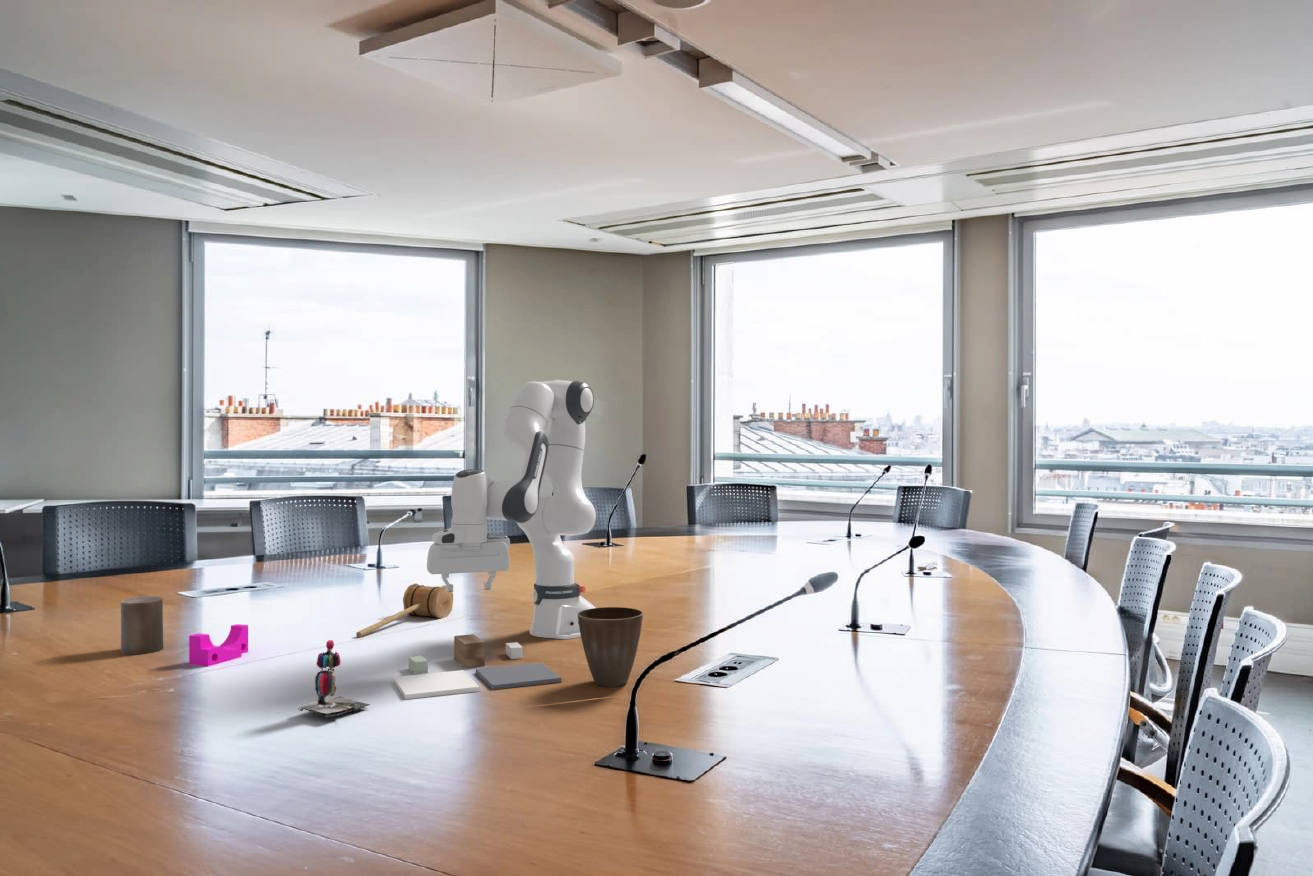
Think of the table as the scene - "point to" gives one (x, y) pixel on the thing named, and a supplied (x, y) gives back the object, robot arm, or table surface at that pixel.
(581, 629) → the plant pot
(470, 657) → the walnut brick
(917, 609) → the table surface
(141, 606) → the pillar candle
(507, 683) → the charcoal mat
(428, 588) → the mallet
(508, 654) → the pale grey brick
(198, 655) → the magenta cradle bracket
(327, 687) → the statue
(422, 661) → the sage brick
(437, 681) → the off-white mat
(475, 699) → the table surface
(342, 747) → the table surface
